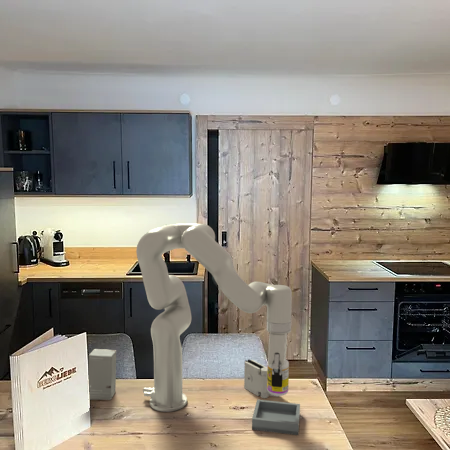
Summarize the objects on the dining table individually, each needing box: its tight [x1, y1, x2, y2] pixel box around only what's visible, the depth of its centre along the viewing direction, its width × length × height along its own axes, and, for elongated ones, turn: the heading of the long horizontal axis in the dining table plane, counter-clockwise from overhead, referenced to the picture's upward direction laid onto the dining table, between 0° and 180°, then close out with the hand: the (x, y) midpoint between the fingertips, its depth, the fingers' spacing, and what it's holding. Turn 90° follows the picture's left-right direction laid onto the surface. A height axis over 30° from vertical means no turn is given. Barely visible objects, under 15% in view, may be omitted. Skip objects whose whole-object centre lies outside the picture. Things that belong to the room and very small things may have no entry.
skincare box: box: [87, 348, 117, 401], centre depth 158 cm, size 8×7×16 cm
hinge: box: [243, 358, 280, 399], centre depth 161 cm, size 14×5×10 cm, turn 51°
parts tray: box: [251, 398, 301, 436], centre depth 143 cm, size 14×12×4 cm
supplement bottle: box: [266, 354, 290, 397], centre depth 141 cm, size 7×7×13 cm
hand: (277, 380), depth 142 cm, fingers closed on supplement bottle, 6 cm apart
